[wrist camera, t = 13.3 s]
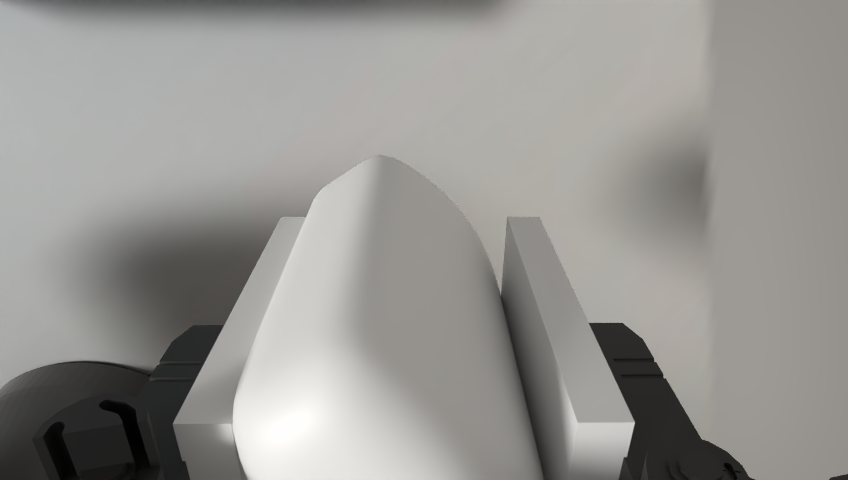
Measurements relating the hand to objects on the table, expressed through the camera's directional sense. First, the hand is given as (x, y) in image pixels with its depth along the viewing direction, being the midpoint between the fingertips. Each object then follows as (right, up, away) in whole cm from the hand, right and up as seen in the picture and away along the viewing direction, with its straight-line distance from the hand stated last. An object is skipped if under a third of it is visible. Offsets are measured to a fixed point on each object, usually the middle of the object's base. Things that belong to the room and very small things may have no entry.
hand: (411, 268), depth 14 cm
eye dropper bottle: (0, 0, +1) cm, 1 cm away
